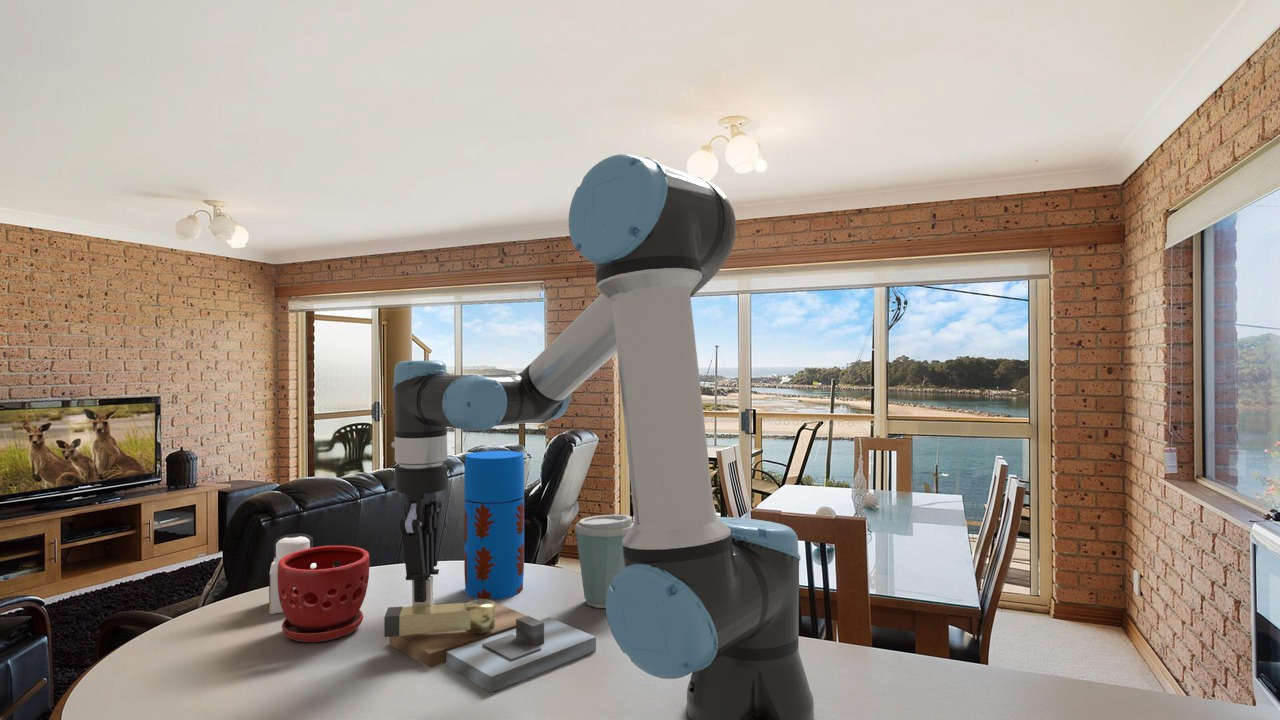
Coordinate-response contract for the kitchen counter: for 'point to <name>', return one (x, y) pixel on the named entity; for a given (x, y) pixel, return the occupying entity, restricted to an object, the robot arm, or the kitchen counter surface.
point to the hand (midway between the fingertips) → (423, 620)
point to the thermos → (494, 524)
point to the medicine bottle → (281, 549)
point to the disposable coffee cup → (601, 553)
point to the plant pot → (322, 592)
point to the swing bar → (440, 618)
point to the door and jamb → (500, 648)
